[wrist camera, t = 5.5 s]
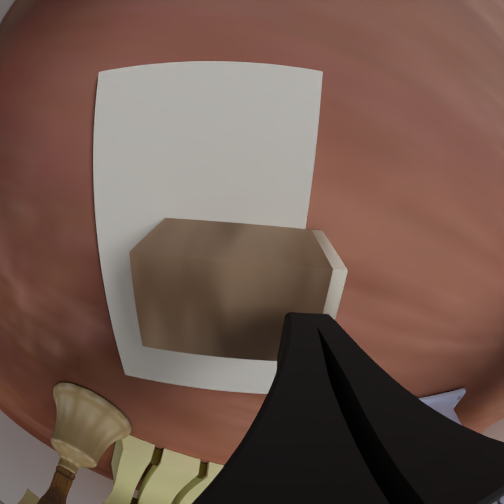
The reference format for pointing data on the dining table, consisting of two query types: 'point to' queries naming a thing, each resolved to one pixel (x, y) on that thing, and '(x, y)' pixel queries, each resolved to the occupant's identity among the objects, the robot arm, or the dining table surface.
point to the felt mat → (197, 180)
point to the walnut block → (230, 285)
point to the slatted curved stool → (152, 475)
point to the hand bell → (81, 435)
